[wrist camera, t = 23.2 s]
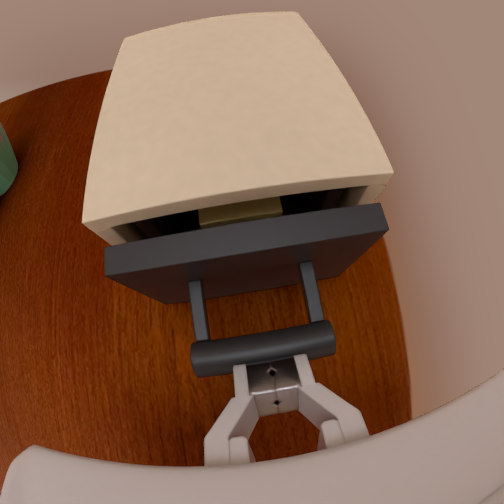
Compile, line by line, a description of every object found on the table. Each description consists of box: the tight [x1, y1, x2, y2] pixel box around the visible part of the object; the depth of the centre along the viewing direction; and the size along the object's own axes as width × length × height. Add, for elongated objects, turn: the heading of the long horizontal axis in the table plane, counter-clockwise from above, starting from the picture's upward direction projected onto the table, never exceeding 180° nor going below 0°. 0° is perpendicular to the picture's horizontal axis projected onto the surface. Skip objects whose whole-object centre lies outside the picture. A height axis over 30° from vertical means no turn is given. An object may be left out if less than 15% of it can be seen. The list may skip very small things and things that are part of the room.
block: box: [198, 196, 283, 229], centre depth 16 cm, size 4×4×4 cm
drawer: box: [105, 188, 389, 378], centre depth 15 cm, size 18×11×8 cm, turn 9°
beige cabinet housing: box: [82, 12, 394, 246], centre depth 17 cm, size 15×12×10 cm
